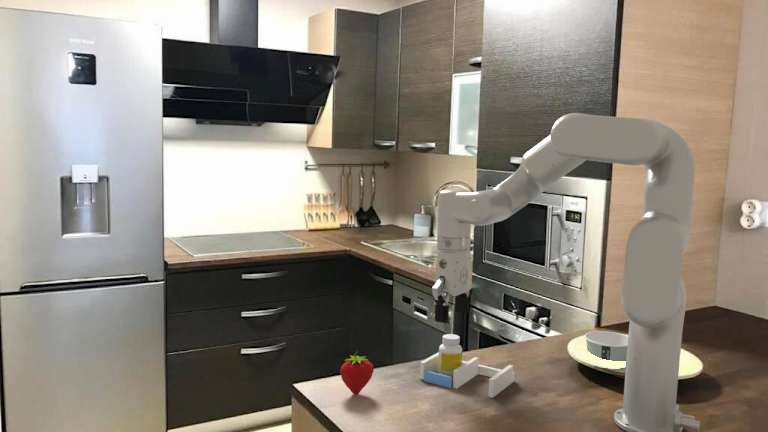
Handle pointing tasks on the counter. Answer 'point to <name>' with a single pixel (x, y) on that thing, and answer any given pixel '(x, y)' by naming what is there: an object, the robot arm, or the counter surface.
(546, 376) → the counter surface
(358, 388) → the strawberry
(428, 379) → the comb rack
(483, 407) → the counter surface
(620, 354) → the food container
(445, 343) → the supplement bottle
